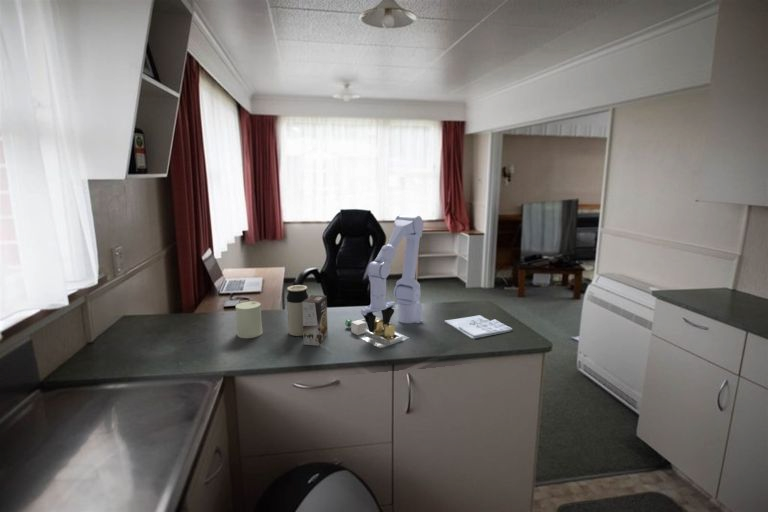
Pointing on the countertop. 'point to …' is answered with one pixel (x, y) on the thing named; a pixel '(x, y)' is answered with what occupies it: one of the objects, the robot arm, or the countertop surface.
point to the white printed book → (478, 326)
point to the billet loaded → (389, 331)
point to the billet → (378, 326)
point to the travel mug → (296, 309)
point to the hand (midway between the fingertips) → (378, 329)
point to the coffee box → (314, 319)
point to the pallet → (382, 339)
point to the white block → (358, 327)
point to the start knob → (348, 322)
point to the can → (249, 319)
